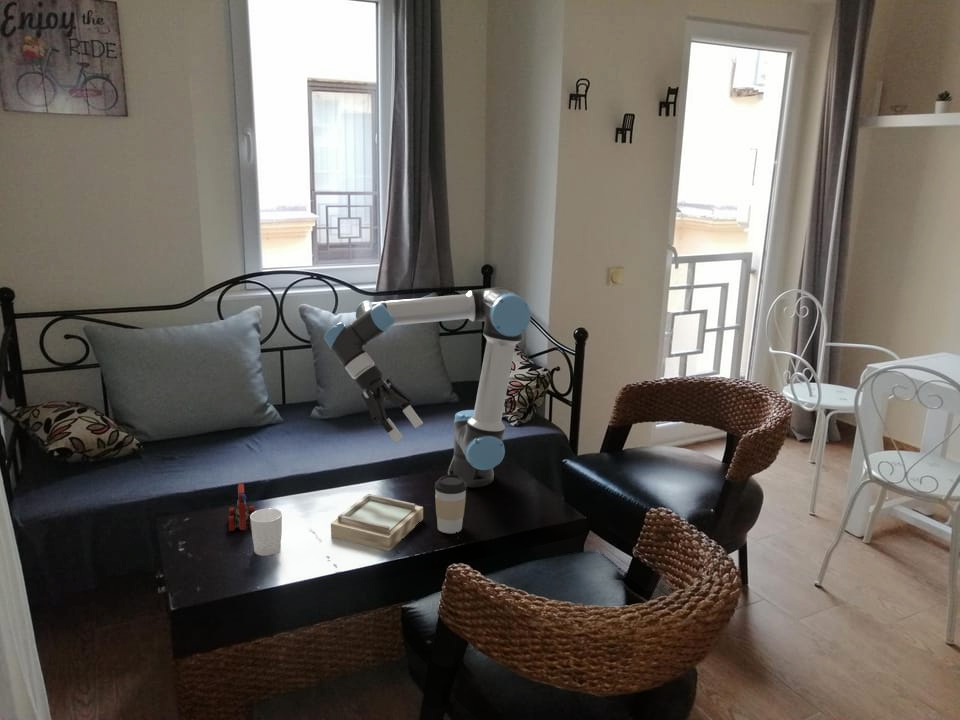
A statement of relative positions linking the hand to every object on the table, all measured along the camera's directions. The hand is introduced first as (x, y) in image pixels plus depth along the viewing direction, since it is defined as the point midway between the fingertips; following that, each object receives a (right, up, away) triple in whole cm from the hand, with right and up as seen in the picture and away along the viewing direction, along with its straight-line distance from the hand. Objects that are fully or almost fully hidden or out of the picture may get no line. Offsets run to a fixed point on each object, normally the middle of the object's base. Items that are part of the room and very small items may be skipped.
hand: (409, 432), depth 202 cm
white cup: (-36, -30, -13) cm, 49 cm away
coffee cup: (+11, -27, +2) cm, 30 cm away
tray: (-9, -27, +1) cm, 28 cm away
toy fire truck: (-47, -26, 0) cm, 54 cm away
